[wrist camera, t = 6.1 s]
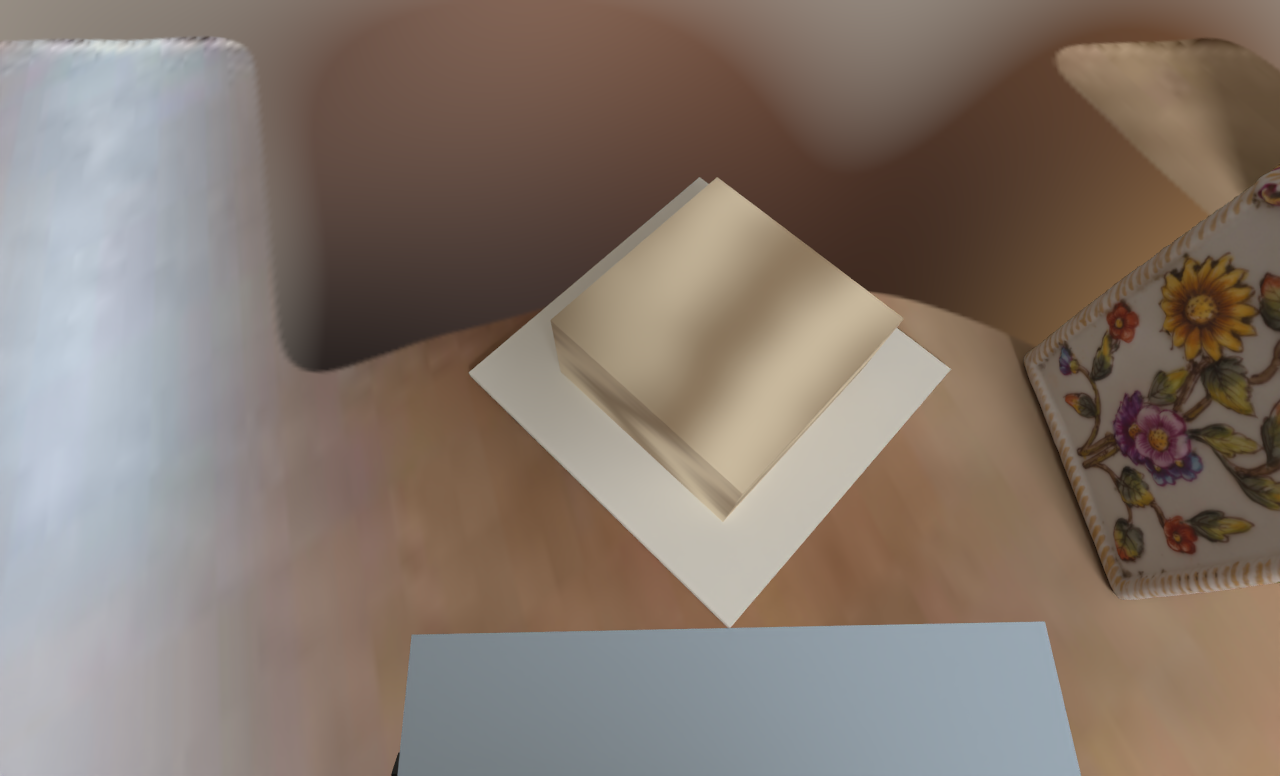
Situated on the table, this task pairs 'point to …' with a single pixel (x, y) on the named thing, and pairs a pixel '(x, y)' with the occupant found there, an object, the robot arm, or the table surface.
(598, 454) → the pad
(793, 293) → the base block
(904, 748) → the column block
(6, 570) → the table surface
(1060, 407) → the decorative jar
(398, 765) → the robot arm
